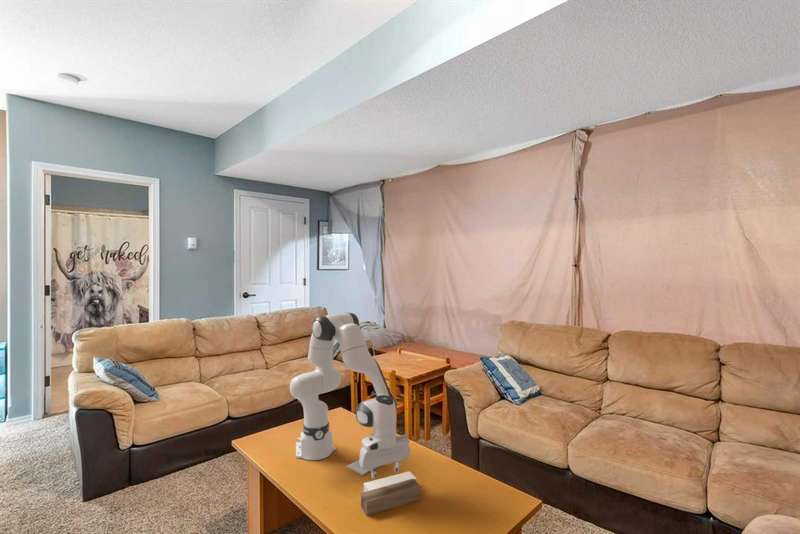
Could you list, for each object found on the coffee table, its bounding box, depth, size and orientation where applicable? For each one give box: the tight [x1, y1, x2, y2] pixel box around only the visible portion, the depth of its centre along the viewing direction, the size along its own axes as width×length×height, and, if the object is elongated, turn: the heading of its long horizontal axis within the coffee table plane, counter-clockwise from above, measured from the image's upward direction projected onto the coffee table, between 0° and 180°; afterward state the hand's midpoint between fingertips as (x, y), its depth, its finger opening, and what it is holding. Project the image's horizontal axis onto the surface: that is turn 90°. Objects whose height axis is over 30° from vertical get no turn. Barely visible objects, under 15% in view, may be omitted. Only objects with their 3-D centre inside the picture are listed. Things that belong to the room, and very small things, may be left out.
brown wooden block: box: [360, 479, 422, 517], centre depth 146 cm, size 6×22×5 cm, turn 116°
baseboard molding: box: [345, 459, 378, 476], centre depth 180 cm, size 31×3×12 cm
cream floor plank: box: [363, 470, 417, 492], centre depth 152 cm, size 6×20×5 cm, turn 116°
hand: (385, 474), depth 151 cm, fingers open, 8 cm apart
